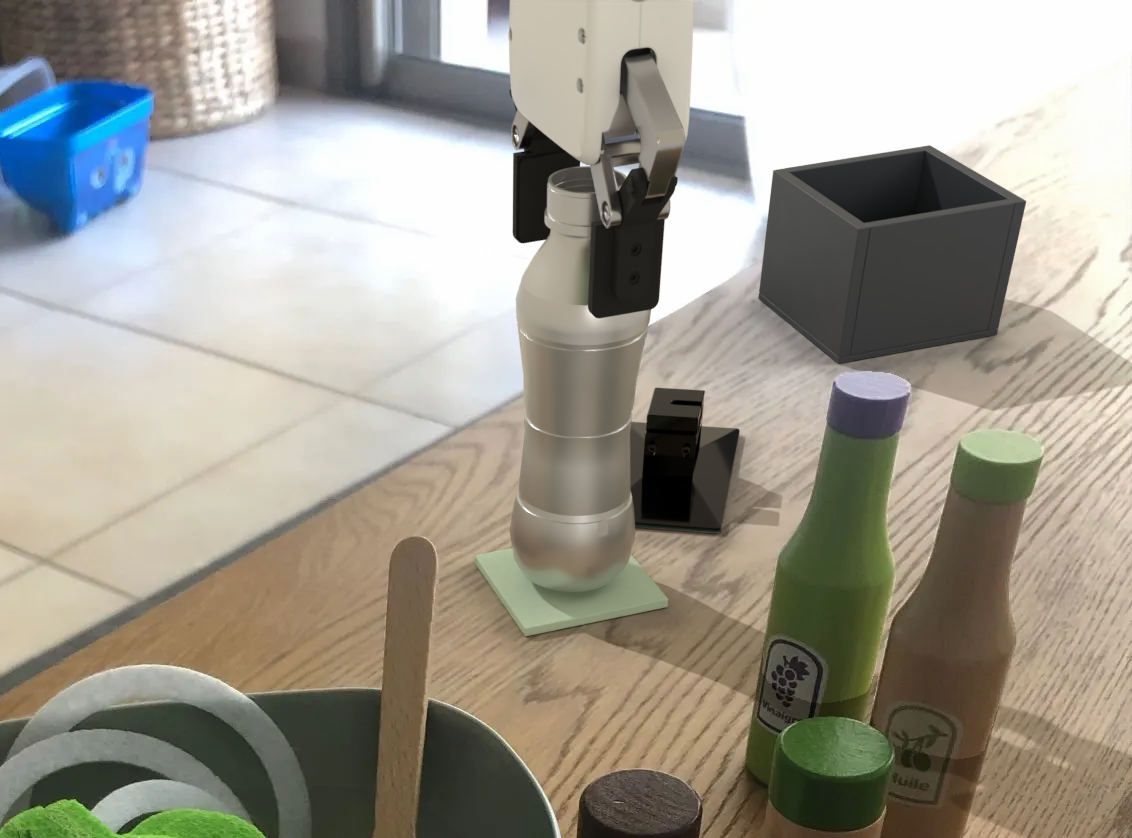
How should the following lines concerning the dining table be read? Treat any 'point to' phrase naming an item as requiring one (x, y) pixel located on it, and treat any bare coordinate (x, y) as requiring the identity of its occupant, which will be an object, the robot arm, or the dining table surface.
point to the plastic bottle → (574, 406)
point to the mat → (567, 596)
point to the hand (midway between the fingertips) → (582, 272)
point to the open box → (888, 252)
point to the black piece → (680, 465)
